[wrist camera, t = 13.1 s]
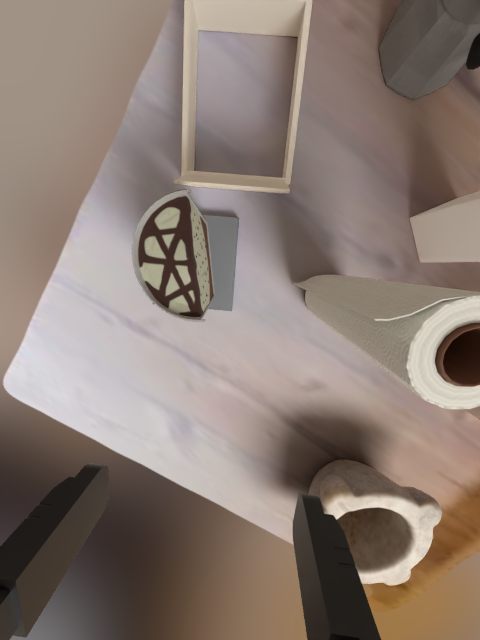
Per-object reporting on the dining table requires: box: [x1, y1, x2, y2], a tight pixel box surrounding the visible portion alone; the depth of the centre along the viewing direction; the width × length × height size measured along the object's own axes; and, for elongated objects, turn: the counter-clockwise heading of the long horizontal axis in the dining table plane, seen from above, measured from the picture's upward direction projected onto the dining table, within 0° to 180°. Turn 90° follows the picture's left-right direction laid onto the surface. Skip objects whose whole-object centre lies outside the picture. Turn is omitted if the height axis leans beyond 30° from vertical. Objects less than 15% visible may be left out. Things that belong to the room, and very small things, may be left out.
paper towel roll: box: [292, 274, 480, 409], centre depth 21 cm, size 7×6×21 cm
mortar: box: [308, 459, 442, 585], centre depth 35 cm, size 17×17×9 cm
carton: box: [173, 0, 313, 194], centre depth 23 cm, size 12×20×8 cm, turn 175°
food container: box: [132, 189, 215, 322], centre depth 25 cm, size 12×6×10 cm, turn 4°
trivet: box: [153, 215, 239, 311], centre depth 31 cm, size 11×12×1 cm
